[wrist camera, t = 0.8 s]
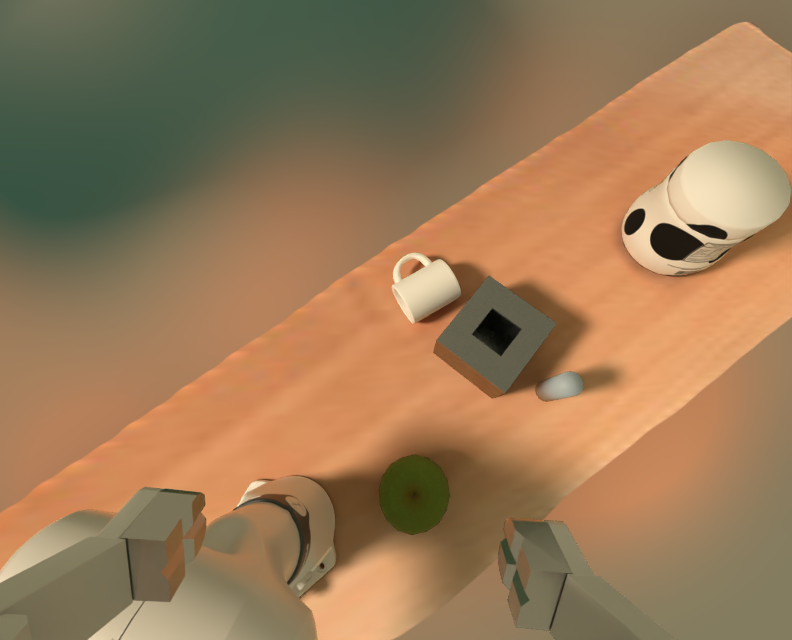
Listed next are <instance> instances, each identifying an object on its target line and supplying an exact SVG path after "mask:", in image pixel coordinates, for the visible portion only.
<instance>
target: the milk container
mask: <svg viewBox="0 0 792 640" xmlns="http://www.w3.org/2000/svg"><path fill="white" fill-rule="evenodd" d="M790 196H791V187H790V184H789V180H788V177H787V174H786V173H785V172H784V170H783V169H782V168H781V166H780V165H779V164H778V162H777V161H776V160H775V159H773V158H772V157H771V156H769V155H768V154H767V153H765V152H764V151H763V150H761V149H758V148H756V147H753V146H751V145H748V144H746V143H742V142H734V141H727V140H726V141H719V142H712V143H708V144H706V145H704V146H702V147H700V148H699V149H697V150H695V151H693V152H692V153H691V154H689V155H688V156H687V157H686V158H684V159H683V160H682V161H681V163H680V164H679V165H678V166H677V167H675V168H674V169H673V170H672V171H671V172H670V173H669V174H668V175H667V176H666V177H665V179H664V180H663V181H662V182H661V183H660V184H658V185H656V186H654V187H652V188H651V189H649V190H647V191H646V192H644V193H643V194H642V195H641V196H640V197H638V198H637V199H636V201H635V202H634V203H633V204H632V205H631V207H630V208H629V210H628V211H627V213H626V215H625V217H624V220H623V223H622V239H623V243H624V245H625V247H626V249H627V251H628V253H629V254H630V256H631V257H632V258H633V259H634V260H635V261H636V262H637V263H638V264H640V265H641V266H642V267H644V268H646V269H648V270H650V271H652V272H654V273H657V274H661V275H667V276H684V275H688V274H692V273H696V272H698V271H701V270H704V269H706V268H708V267H710V266H711V265H713V264H715V263H716V262H717V261H719V260H720V259H721V258H722V257H723V256H724V255H725V254H726V253H727V252H728V251H729V250H730V249H731V248H732V247H733V246H735V245H737V244H739V243H741V242H743V241H745V240H746V239H748V238H750V237H752V236H753V235H754V234H756V233H757V232H759V231H760V230H762V229H764V228H766V227H768V226H769V225H771V224H772V223H773V222H775V221H776V220H777V219H778V218H780V217H781V215H782V214H783V212H784V211H785V210H786V208H787V207H788V206H789V203H790Z"/></svg>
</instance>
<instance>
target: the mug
mask: <svg viewBox="0 0 792 640" xmlns="http://www.w3.org/2000/svg"><path fill="white" fill-rule="evenodd" d="M411 259H417V260H419V261H420V262H421V263H422V264H423V265H424V266H425V267H424V268H422V269H420V270H418V271H417V272H415V273H413V274H411V275H410V276H408V277H406V278H404V279H402V277H401V274H400V268H401V266H402V265H403V264H404V263H406V262H407V261H409V260H411ZM393 278H394V281H395V284H394V285H392V291H393V293H394V296H395V298H396V300H397V302H398V304H399V305H400V307H401V309H402V310H403V312H404V314H405V315H406V316H407V318H408V319H409V320H410V322H412V323H413V324H415V323H417V322H419V321H420V320H422V319H424V318H425V317H427V316H429V315H430V314H432V313H434V312H436V311H437V310H439V309H441V308H442V307H444V306H446V305H448V304H449V303H451V302H453V301H454V300H456V299H458V298H459V297H460V296H461V289H460V285H459V283H458V280H457V278H456V276H455V275H454V273H453V271H452V270H451V269H450V267H449V266H448V265H447V264H446V263H445V262H444V261H443V260H441V259H438V260H436V261H434V262H432V261H431V260H430V259H429V258H428V257H426V256H425V255H423V254H421V253H410V254H407V255H406V256H404V257H403V258H401V259H400V260H399V261H398V263H397V264H396V266H395V268H394V271H393Z"/></svg>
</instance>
